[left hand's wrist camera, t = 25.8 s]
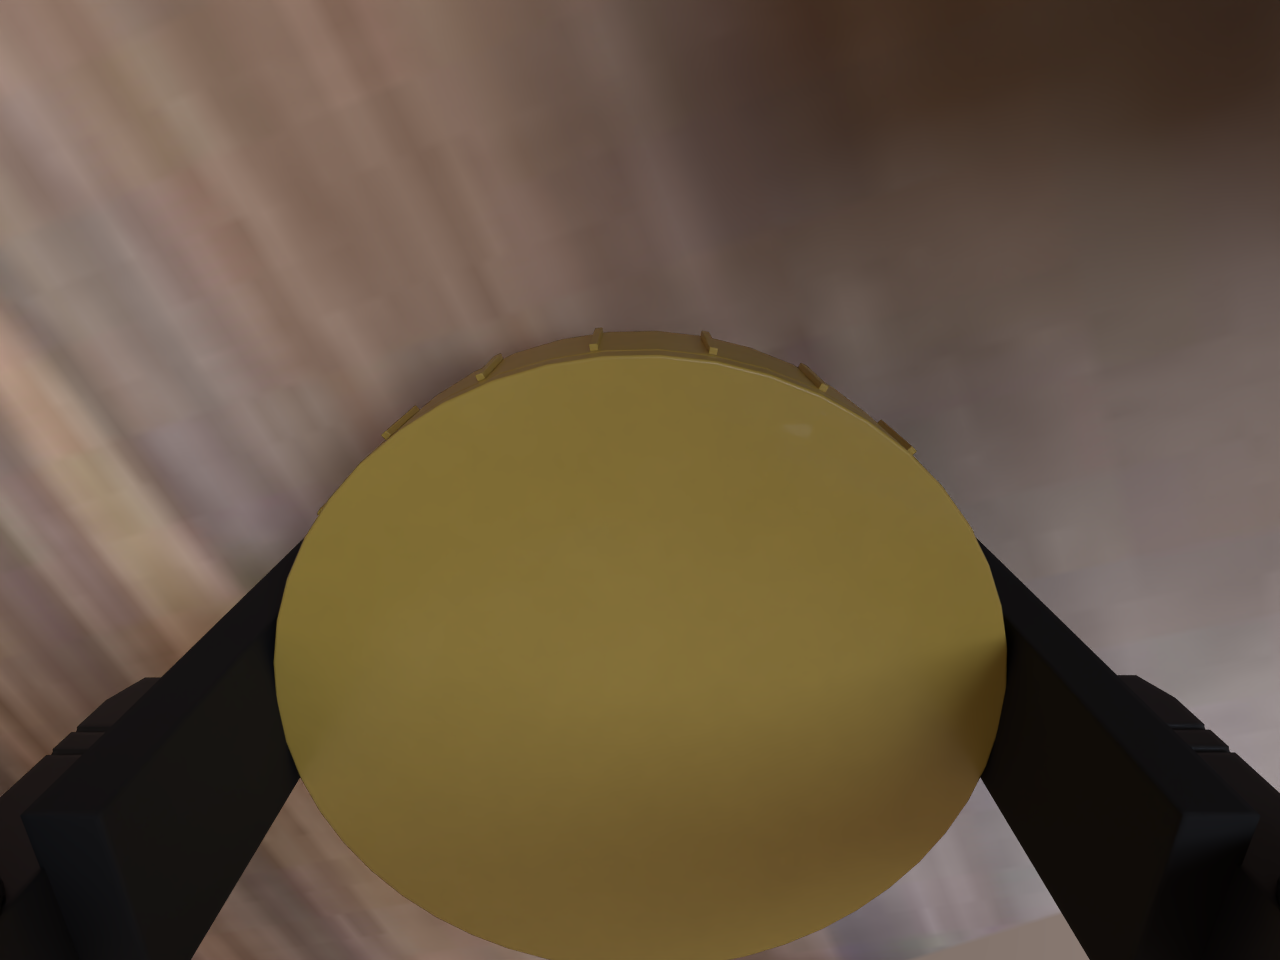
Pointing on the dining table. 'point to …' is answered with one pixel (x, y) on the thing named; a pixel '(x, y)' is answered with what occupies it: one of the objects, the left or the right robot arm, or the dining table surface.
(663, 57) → the dining table surface
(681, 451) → the lid
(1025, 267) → the dining table surface
